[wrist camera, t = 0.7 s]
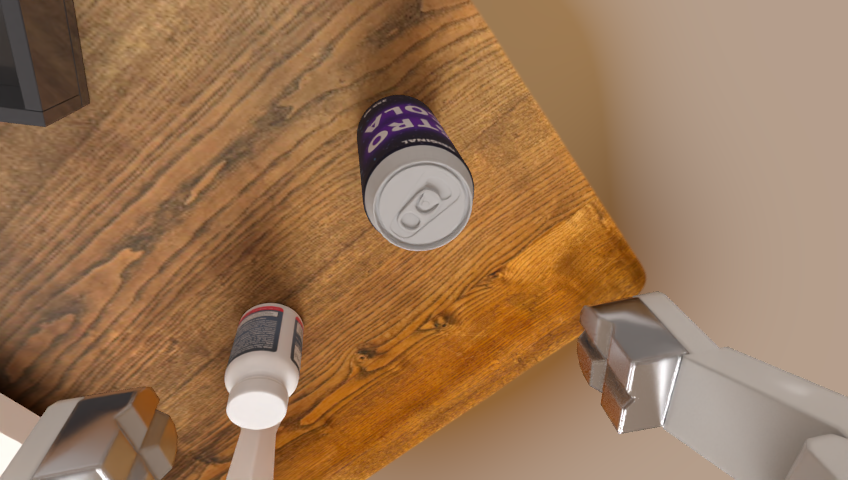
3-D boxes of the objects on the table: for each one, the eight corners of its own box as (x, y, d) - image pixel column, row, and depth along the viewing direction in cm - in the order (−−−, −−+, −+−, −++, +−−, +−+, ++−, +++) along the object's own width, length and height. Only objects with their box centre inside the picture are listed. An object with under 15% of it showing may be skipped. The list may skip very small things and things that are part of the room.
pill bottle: (226, 330, 38) (198, 417, 31) (264, 290, 37) (244, 372, 29) (279, 357, 41) (265, 445, 33) (316, 321, 39) (310, 404, 32)
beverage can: (452, 127, 33) (503, 197, 22) (402, 185, 34) (428, 276, 24) (391, 73, 30) (417, 126, 20) (339, 139, 32) (339, 219, 22)
